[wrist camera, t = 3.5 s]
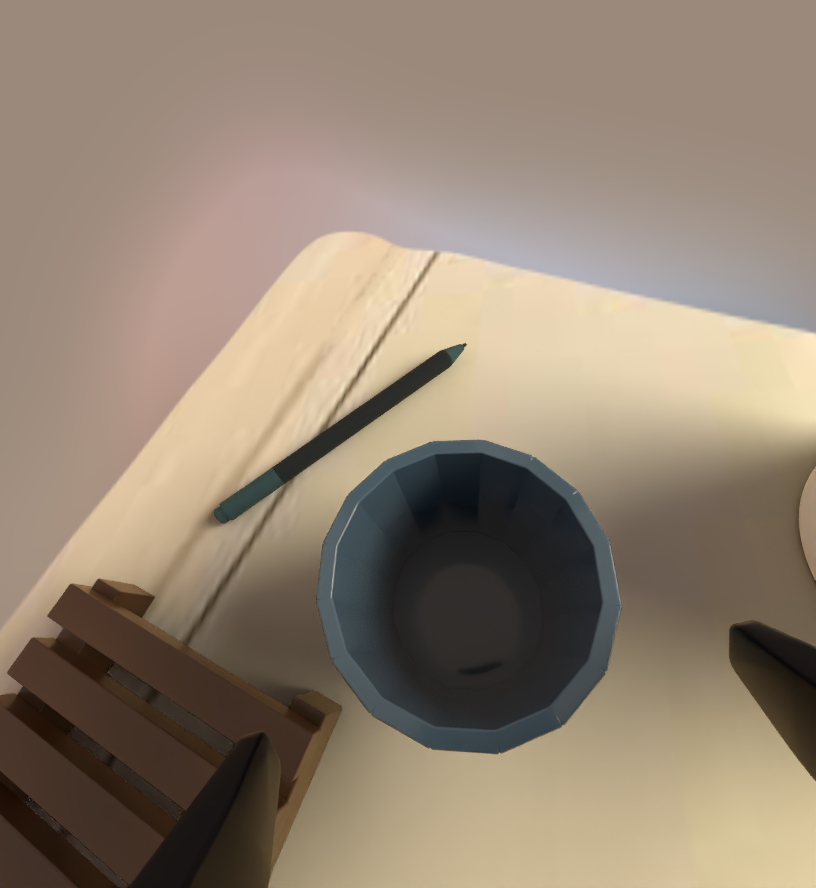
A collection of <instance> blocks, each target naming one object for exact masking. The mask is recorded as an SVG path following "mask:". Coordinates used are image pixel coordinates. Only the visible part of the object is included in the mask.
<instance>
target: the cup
mask: <svg viewBox="0 0 816 888" xmlns="http://www.w3.org/2000/svg"><path fill="white" fill-rule="evenodd" d="M348 495H349V496H347V497H346V499H345V501H344V503H343V505H342V507H341V509H340V511H339V513H338V515H337V516H336V518H335V520H334V522H333V524H332V526H331V528H330V530H329V532H328V534H327V536H326V538H325V540H324V544H323V546H322V554H321V562H320V571H319V579H318V587H317V596H316V600H317V602H316V603H317V607H318V611H319V615H320V619H321V623H322V627H323V631H324V635H325V639H326V643H327V647H328V651H329V655H330V659H331V660H332V663H333V664H334V666H335V667H336V669H337V670H338V671H339V673H340V674H341V675H342V677H343V678H344V680H345V681H346V682H347V684H348V685H349V686H350V688H351V689H352V690H353V692H354V693H355V695H356V696H357V697H358V699H359V700H360V701H361V703H362V704H363V706H364V707H365V708H366V710H367V711H368V712H369V713H370V714H371V715H372V716H373V717H375V718H376V719H378V720H380V721H382V722H383V723H385V724H387V725H388V726H390V727H392V728H394V729H395V730H397V731H399V732H401V733H402V734H404V735H406V736H408V737H409V738H411V739H413V740H414V741H416V742H418V743H420V744H421V745H423V746H425V747H427V748H431V749H432V750H443V751H457V752H472V753H486V754H499V753H504V752H507V751H509V750H511V749H514V748H516V747H518V746H520V745H523V744H525V743H527V742H529V741H532V740H534V739H536V738H539V737H541V736H543V735H545V734H548V733H550V732H552V731H554V730H557V729H559V728H561V727H562V725H565V724H566V723H567V722H568V720H569V719H570V718H571V717H572V715H573V714H574V713H575V712H576V710H577V709H578V708H579V707H580V705H581V704H582V703H583V702H584V700H585V699H586V698H587V697H588V695H589V694H590V693H591V692H592V690H593V689H594V688H595V687H596V685H597V684H598V683H599V682H600V680H601V679H602V678H603V677H604V675H605V672H606V671H607V669H608V665H609V660H610V656H611V652H612V648H613V643H614V639H615V635H616V630H617V626H618V622H619V617H620V613H621V607H620V606H621V599H620V594H619V588H618V582H617V577H616V571H615V566H614V560H613V555H612V549H611V545H610V544H609V540H608V538H607V537H606V535H605V533H604V532H603V530H602V529H601V527H600V525H599V524H598V522H597V520H596V519H595V517H594V516H593V514H592V512H591V511H590V509H589V508H588V506H587V504H586V503H585V501H584V499H583V498H582V496H581V495H580V493H579V492H578V491H577V490H576V489H575V488H574V487H572V486H571V485H570V484H569V483H567V482H566V481H565V480H563V479H562V478H561V477H560V476H558V475H557V474H556V473H554V472H553V471H552V470H551V469H549V468H548V467H547V466H546V465H544V464H543V463H542V462H540V461H539V460H538V459H537V458H535V457H533V456H531V455H528V454H525V453H522V452H519V451H516V450H513V449H510V448H507V447H504V446H501V445H498V444H495V443H492V442H489V441H485V440H460V441H433V442H429V443H427V444H425V445H422V446H420V447H417V448H415V449H412V450H410V451H407V452H405V453H402V454H400V455H397V456H395V457H392V458H390V459H388V460H386V461H384V462H383V463H382V464H381V465H380V466H379V467H378V468H377V469H375V470H374V471H373V472H372V473H371V474H370V475H369V476H368V477H367V478H366V479H365V480H363V481H362V482H361V483H360V484H359V485H358V486H357V487H356V488H355V489H354V490H352V491H351V492H350V493H349V494H348Z"/></svg>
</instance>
